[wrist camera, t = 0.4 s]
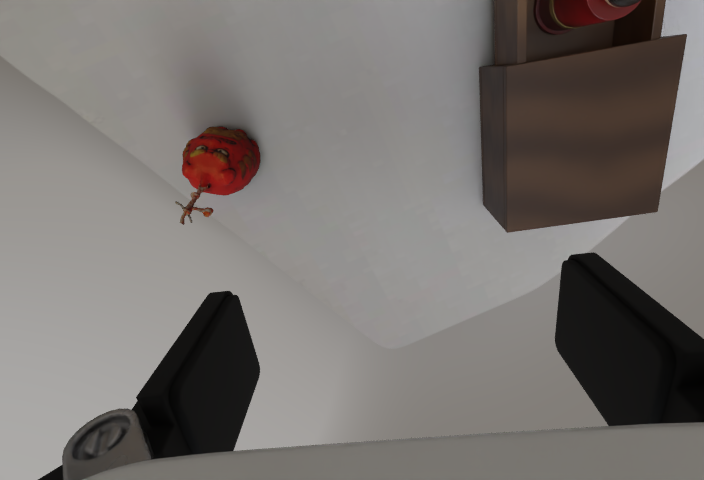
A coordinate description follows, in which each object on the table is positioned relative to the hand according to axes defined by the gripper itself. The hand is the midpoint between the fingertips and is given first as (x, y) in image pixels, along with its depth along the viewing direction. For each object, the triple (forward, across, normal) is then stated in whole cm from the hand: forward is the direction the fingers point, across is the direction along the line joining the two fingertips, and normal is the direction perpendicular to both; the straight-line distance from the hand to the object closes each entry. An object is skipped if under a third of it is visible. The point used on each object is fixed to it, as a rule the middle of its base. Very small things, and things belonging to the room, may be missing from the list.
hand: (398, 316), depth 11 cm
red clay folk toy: (+36, +17, 0) cm, 39 cm away
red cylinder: (+33, -19, -10) cm, 39 cm away
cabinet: (+35, -19, +2) cm, 40 cm away
